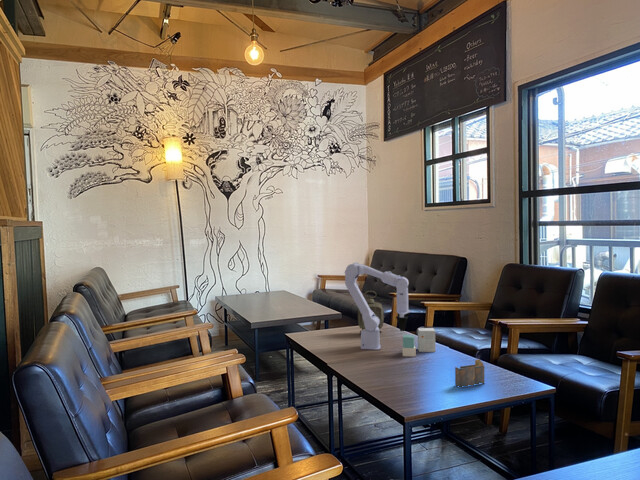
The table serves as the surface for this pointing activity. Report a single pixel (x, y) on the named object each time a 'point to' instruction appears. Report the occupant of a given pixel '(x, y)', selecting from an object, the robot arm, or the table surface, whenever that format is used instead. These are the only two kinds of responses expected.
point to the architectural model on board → (469, 374)
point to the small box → (426, 340)
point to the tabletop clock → (375, 308)
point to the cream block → (409, 351)
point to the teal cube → (408, 341)
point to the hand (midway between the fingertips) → (402, 329)
